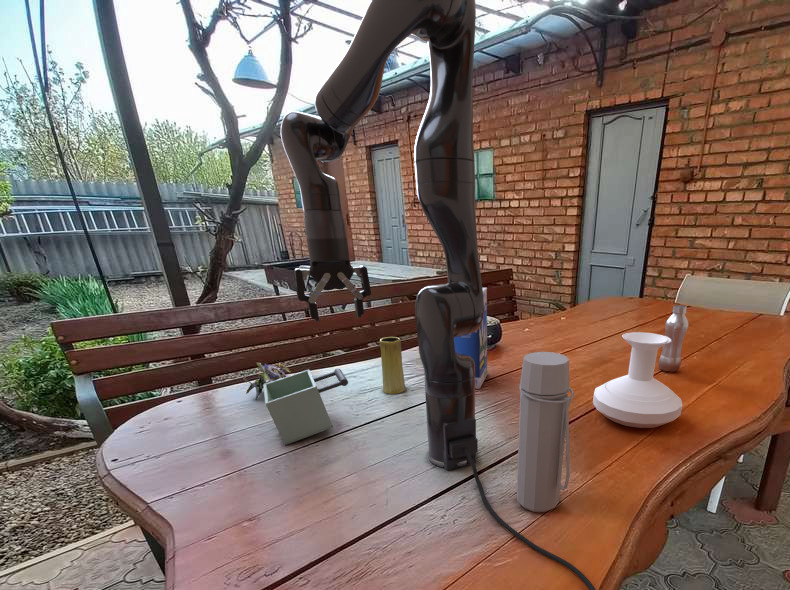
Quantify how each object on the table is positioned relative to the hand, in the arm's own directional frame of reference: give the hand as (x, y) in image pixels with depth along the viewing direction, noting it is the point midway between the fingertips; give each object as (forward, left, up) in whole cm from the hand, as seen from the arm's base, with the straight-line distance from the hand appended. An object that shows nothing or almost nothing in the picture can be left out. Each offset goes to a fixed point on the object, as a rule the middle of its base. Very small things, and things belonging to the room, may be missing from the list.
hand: (338, 319), depth 89 cm
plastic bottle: (-8, -95, -24) cm, 99 cm away
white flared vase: (-28, -60, -24) cm, 71 cm away
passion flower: (+25, +16, -24) cm, 38 cm away
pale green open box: (+1, +7, -22) cm, 23 cm away
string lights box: (+12, -36, -24) cm, 45 cm away
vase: (+15, -14, -24) cm, 32 cm away
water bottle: (-46, -21, -24) cm, 56 cm away
